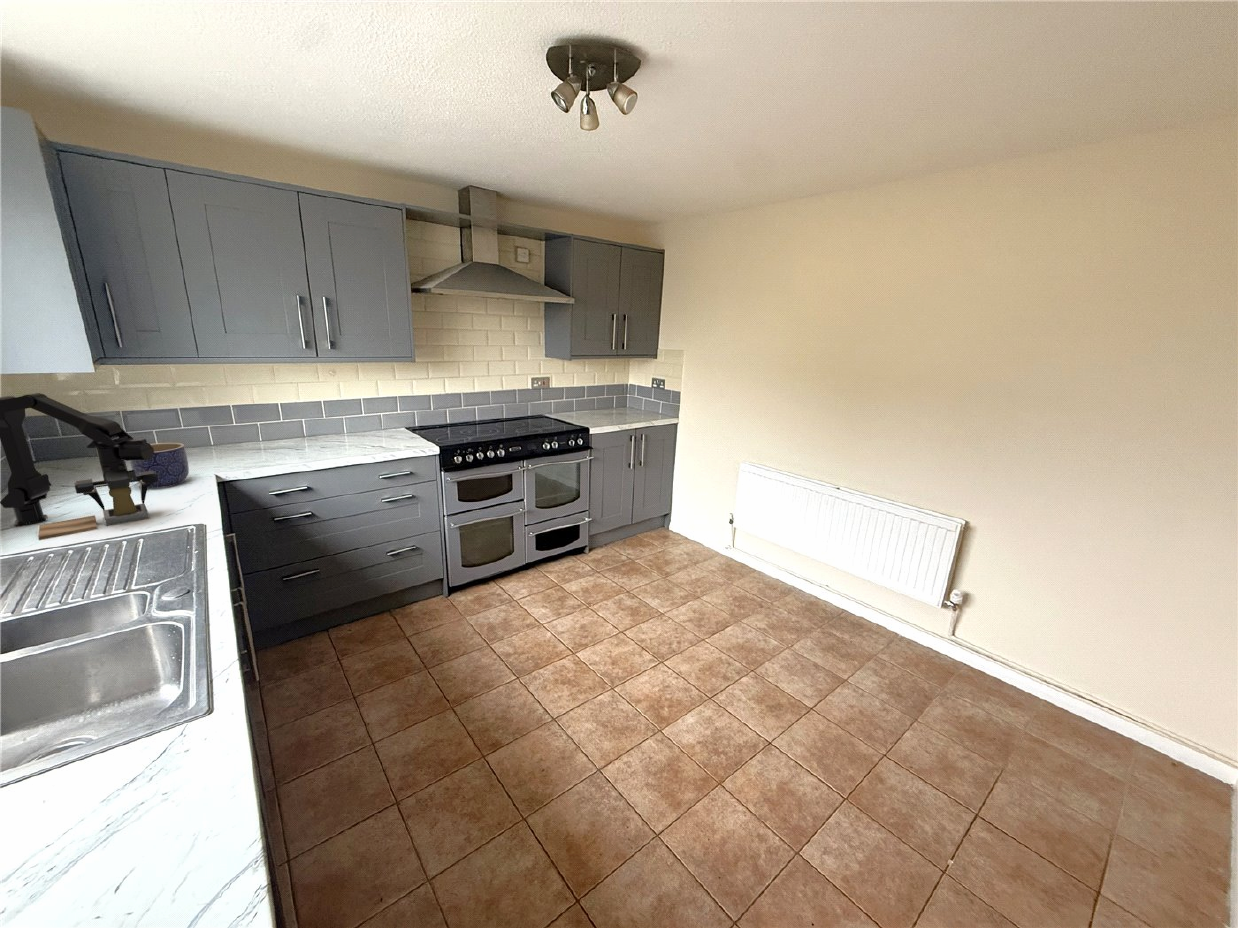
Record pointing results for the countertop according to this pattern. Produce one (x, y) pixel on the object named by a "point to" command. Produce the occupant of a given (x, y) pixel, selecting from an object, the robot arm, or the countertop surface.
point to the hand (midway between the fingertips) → (124, 506)
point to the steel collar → (125, 515)
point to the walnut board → (67, 527)
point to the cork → (122, 501)
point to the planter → (165, 464)
